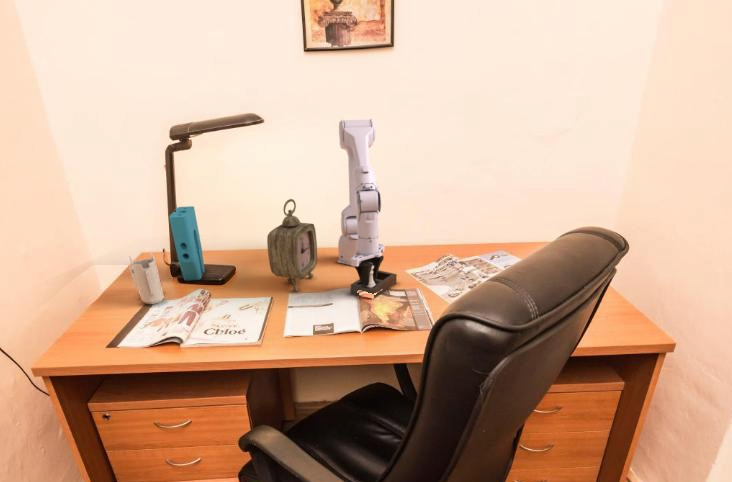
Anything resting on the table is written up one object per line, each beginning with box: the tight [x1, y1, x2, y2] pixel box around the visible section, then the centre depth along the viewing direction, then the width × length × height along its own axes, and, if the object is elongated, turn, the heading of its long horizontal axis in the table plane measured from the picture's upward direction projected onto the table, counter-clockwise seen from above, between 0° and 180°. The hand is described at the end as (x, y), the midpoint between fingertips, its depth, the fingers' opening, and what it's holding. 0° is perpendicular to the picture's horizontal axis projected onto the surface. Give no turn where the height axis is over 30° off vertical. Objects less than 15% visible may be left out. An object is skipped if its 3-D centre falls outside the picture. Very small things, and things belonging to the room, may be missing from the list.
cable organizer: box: [128, 252, 165, 305], centre depth 135 cm, size 7×12×12 cm, turn 29°
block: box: [168, 205, 205, 281], centre depth 148 cm, size 12×5×20 cm, turn 6°
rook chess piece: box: [362, 262, 376, 288], centre depth 138 cm, size 4×4×8 cm
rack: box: [350, 270, 398, 299], centre depth 142 cm, size 14×7×3 cm, turn 148°
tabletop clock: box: [266, 198, 318, 293], centre depth 140 cm, size 14×9×25 cm, turn 161°
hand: (368, 282), depth 138 cm, fingers closed on rook chess piece, 3 cm apart
